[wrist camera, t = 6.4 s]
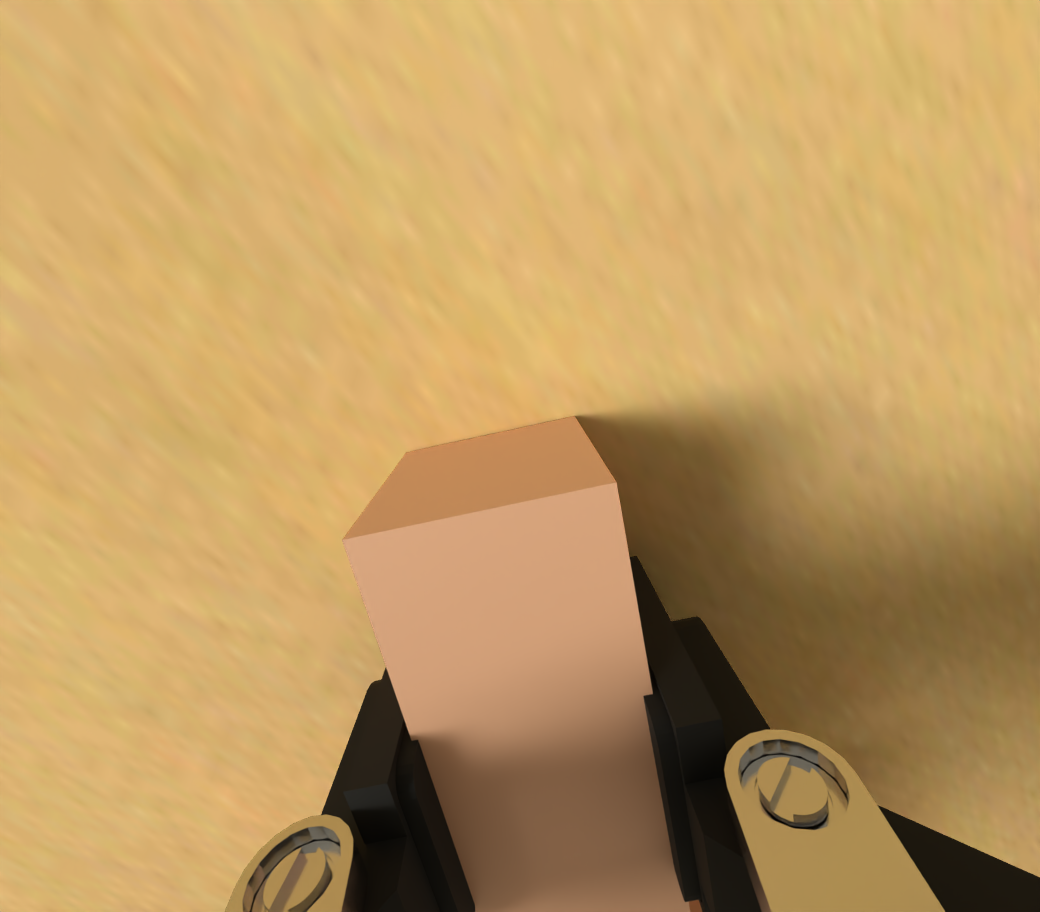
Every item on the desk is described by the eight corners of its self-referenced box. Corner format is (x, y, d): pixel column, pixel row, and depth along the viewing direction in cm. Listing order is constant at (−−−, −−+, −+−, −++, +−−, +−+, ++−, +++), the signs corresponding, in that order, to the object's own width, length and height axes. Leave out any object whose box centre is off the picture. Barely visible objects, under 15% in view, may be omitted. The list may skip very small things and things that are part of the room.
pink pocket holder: (755, 1029, 13) (839, 1271, 10) (521, 1067, 14) (524, 1316, 10) (671, 394, 9) (777, 448, 5) (312, 473, 9) (191, 571, 5)
